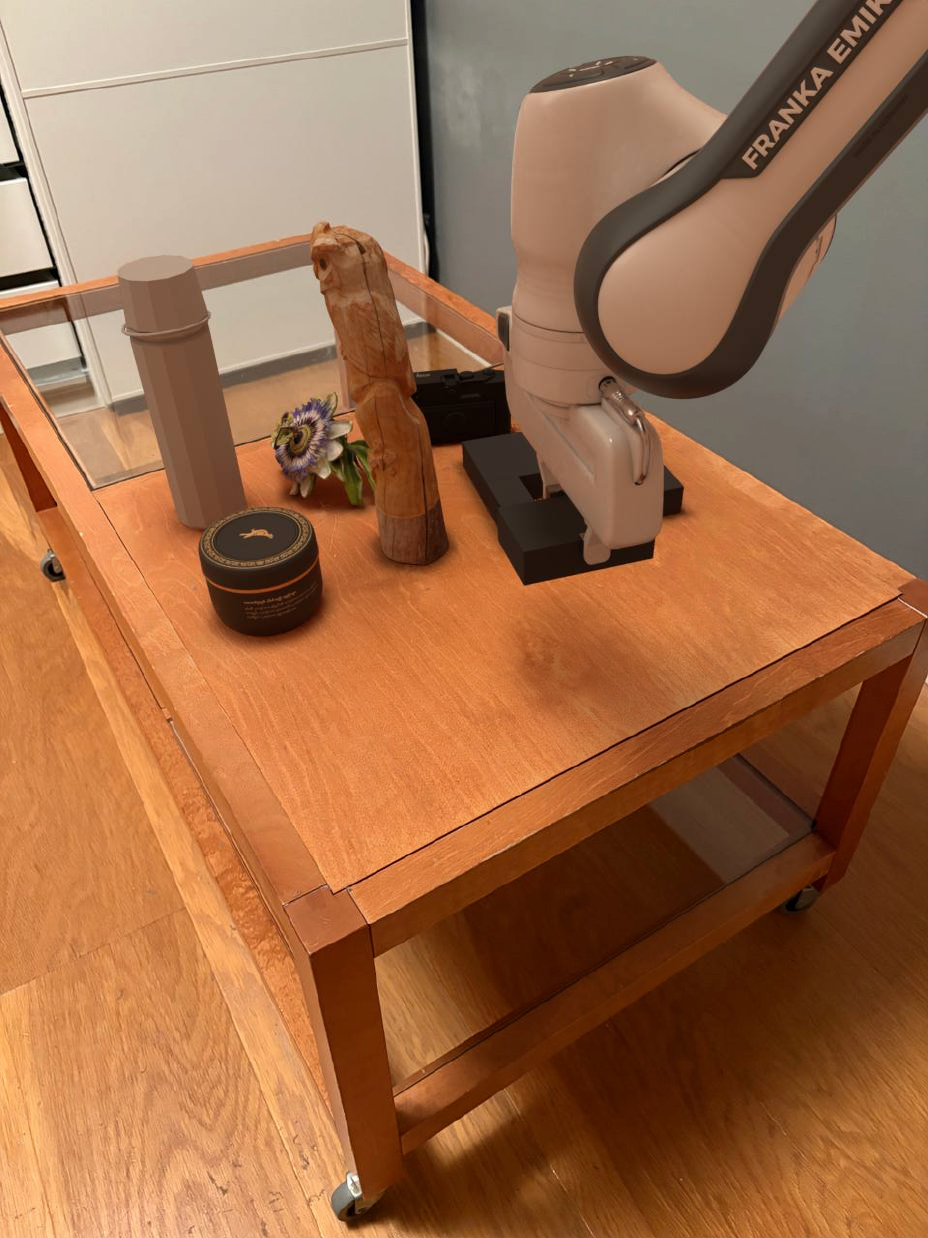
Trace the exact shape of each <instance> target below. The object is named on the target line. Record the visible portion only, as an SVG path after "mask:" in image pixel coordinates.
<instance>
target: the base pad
mask: <svg viewBox="0 0 928 1238" xmlns="http://www.w3.org/2000/svg"><path fill="white" fill-rule="evenodd" d="M461 451H462V452H461V453H462V454H461V455H462V467H463V468H464V471H465V472H466V474H467V476H468V477H469V479H470V481H471V483H472V484H473V486H474V488H475V489H476V491H477V494H478V495H479V497H480V498H481V500H482V502H483V503H484V505H485V507H486V509H487V511H488V512H489V515H490V516H491V517H492V519H493V521H494V523H495V525H496V526H497V527H498V511H497V509H498V508H500V507H505V506H510V505H515V504H520V503H526V502H531V501H535V499H540V498H543V481H542V477H541V473H540V468H539V464H538V460H537V453H536V451H535V450H534V448H533V447H532V446H531V444H530V443H529V442H528V440H527V439H526V437H525V436H524V435H523V433H522V432H521V431H517V432H516V431H515V432H511V433H510V434H504V435H498V436H493V437H487V438H481V439H475V440H469V441H463V442H462V443H461ZM684 492H685V486H684V485H683V484H682V483H681V481H680V480H679V479H678V477H676V476H675V474H673V472H672V471H670V470H669V468H668V467H667V466H666V464H664V493H663V517H664V516H669V515H674V514H675V515H676V514H679V513H682V508H683V507H682V506H683V499H684Z"/></svg>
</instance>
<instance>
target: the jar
mask: <svg viewBox="0 0 928 1238" xmlns="http://www.w3.org/2000/svg"><path fill="white" fill-rule="evenodd" d="M318 542H319V541H318V540H317V534H316V532H315V528H314V526H313V524H312V522H311V520H309V519H308V518H307V517H306V515H305V516H304V515H303V514H302V513H300V512H298V511H295V510H293V509H290V508H287V507H281V506H256V507H255V506H253V507H247V508H246V509H244V510H240V511H237V512H234V513H231V514H229V515H226V516H224V517H222V518H221V519H219V520H217V521H216V522H214V523H213V524H212V525H211V526H209V527H208V528H207V529H206V530H204V531H203V533H202V534H201V537H200V539H199V541H198V547H197V548H198V549H197V550H198V551H197V552H198V557H199V562H200V567H201V572H202V574H203V577H204V579H205V583H206V586H207V590H208V594H209V598H210V602H211V604H212V607H213V609H214V611H215V612H216V614H217V616H218V617H219V619H220V620H221V622H222V623H223V624H224V625H225V626H226V627H228V628H229V629H230V630H232V631H234V632H237V633H239V634H241V635H243V636H244V635H245V636H249V637H255V638H256V637H257V638H265V637H266V638H267V637H274V636H280V635H283V634H286V633H289V632H292V631H294V630H297V629H298V628H301V627H302V625H303V626H304V625H305V624H306V623H308V621H309V620H311V618H312V617H313V616H314V614H315V613H316V612H317V611H318V609H319V607H320V605H321V601H322V597H323V590H324V582H323V581H324V580H323V574H322V567H321V561H320V545H319V543H318Z"/></svg>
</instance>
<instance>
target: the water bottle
mask: <svg viewBox="0 0 928 1238" xmlns="http://www.w3.org/2000/svg"><path fill="white" fill-rule="evenodd" d="M116 270H117V271H116V272H117V280H118V281H117V282H118V285H119V292H120V299H121V304H122V310H123V315H124V321H125V322H124V323H123V324H122V325H121V327H120V332H121V333H122V334H124V335H125V336H128V337H129V343H130V346H131V350H132V353H133V357H134V361H135V365H136V369H137V371H138V375H139V380H140V383H141V387H142V391H143V394H144V398H145V402H146V405H147V409H148V412H149V417H150V419H151V424H152V427H153V430H154V434H155V438H156V442H157V445H158V449H159V453H160V457H161V461H162V464H163V468H164V472H165V475H166V479H167V482H168V486H169V490H170V494H171V497H172V500H173V504H174V508H175V509H174V510H175V512H176V515H177V520H178V521H179V522H181V523H182V524H184V525H185V526H187V527H188V528H190V529H192V530H197V531H198V530H199V531H206V529H207V528H208V527H209V526H211V525H212V524H213V523H214V522H216V521H217V520H219V519H221V518H222V517H224V516H226V515H229V514H231V513H234V512H237V511H240V510H244V509H248V504H247V498H246V494H245V488H244V484H243V480H242V475H241V470H240V466H239V460H238V456H237V451H236V447H235V441H234V437H233V433H232V429H231V428H232V427H231V423H230V419H229V415H228V409H227V405H226V401H225V395H224V391H223V386H222V382H221V377H220V372H219V367H218V363H217V359H216V353H215V349H214V344H213V339H212V334H211V330H210V326H209V321H210V319H211V317H212V316H211V315H212V312H211V311H209V310H208V308H207V304H206V301H205V298H204V295H203V291H202V288H201V285H200V282H199V278H198V276H197V273H196V269H195V266H194V263H193V260H192V259H190V258H188V257H185V256H182V255H172V254H171V255H170V254H169V255H168V254H167V255H166V254H162V255H154V256H145V257H141V258H139V259H135V260H132V261H129V262H126V263H125V264H124V265H122V266H121V267H119V268H118V269H116Z"/></svg>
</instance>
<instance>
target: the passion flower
mask: <svg viewBox="0 0 928 1238" xmlns="http://www.w3.org/2000/svg"><path fill="white" fill-rule="evenodd" d="M338 397H339V396H338V395H337V392H336V391H332V392H329V394H327V395H326V398H325V399H323V398H322V397H320V396H317V397H316V398H314V397H310V399H309V400H310V401H307V402H306V404H304V403H302V404H301V407H302V408H301V409H299V407H298V406H296V407H295V408H294V412H293V411H291V410H290V411H287V410H286V411H285V412H284V413H283V414H282V415H281V417H280V419H279V420H278V421H277V422H276V424H275V429H274V431H273V433H272V434H271V435H270V436H271V437H270V438H271V439H272V441H271V442H270V447H271V448H272V449H273V450H274V451H275V456H274V458H275V460H276V462H277V463H278V465H279V466H280V469H282V470H281V475H282V476H285V478H286V480H288V481H290V482H292V484H291V489H290V492H289V495H290V496H298V495H299V494H301V496H302V498H304V499H307V498H308V497H310V496H311V495H312V494H313V492H314V490H315V488H316V485H317V479H318V477H319V478H320V479H322V480H323V481H327V480H328V479H330V478H331V477H332V476H333V474H334V475H335V477H336V478H337V479H338V480H339V481H341V483H342V485H343V488H344V491H345V493H346V496H347V499H348V501H349V502H350V504H351V505H352V506H358V507H359V508H363V506H364V503H363V502H364V501H363V496H364V482H363V481H364V480H363V478H362V476H361V474H360V472H359V470H360V471H361V472H364V471H365V473H366V478H367V481H368V482H369V485H370V488H371V490H372V493H373V494H374V491H375V485H376V483H375V482H374V480H373V479H372V476H371V473H370V469H369V466H368V461H367V457H368V451H370V450H371V448H370V447H369V446H368V444H367V443H366V441H365V439H364V438H363V439H355V440H353V441H352V442H349V441H348V434H349V433H352V431H353V430H354V422H353V421H352V420H351V419H339V420H338V419H335V418H334V414H335V413H336V410H337V408H338V404H339V403H338V402H339V398H338ZM362 467H363V468H362Z"/></svg>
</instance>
